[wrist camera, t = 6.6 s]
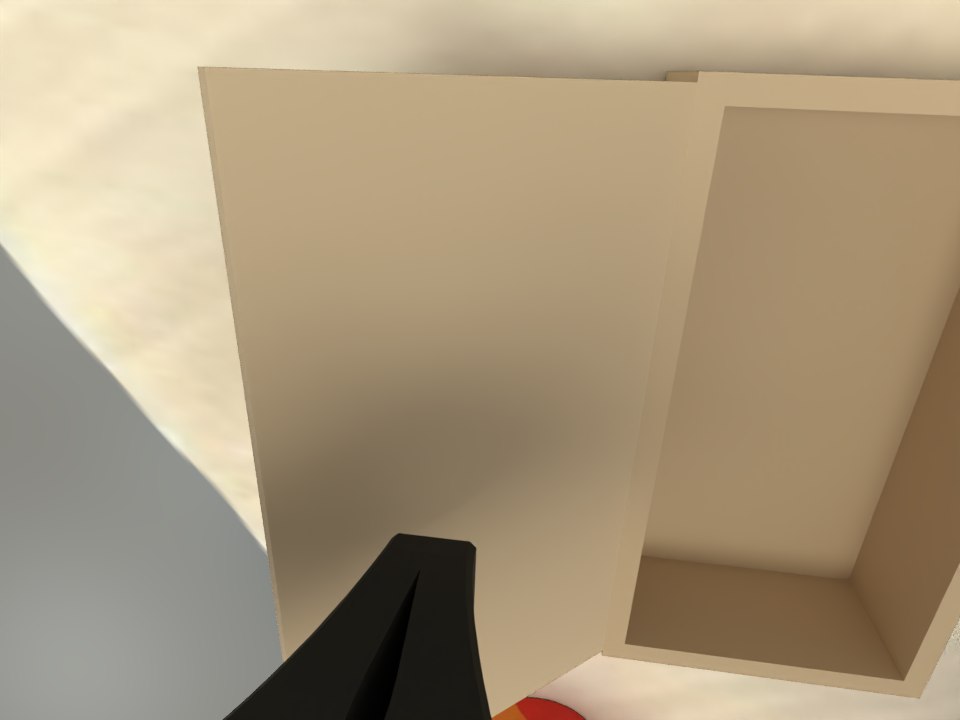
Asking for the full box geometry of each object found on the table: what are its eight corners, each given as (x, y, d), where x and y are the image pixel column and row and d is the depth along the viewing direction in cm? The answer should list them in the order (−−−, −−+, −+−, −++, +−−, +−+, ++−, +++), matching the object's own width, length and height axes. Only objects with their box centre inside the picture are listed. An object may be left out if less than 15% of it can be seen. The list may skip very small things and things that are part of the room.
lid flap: (310, 827, 14) (303, 807, 14) (602, 650, 19) (591, 638, 19) (203, 67, 7) (195, 67, 8) (696, 82, 12) (676, 81, 12)
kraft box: (854, 582, 22) (919, 698, 18) (596, 552, 23) (601, 655, 19) (1046, 85, 15) (1221, 90, 11) (666, 71, 16) (699, 70, 12)
